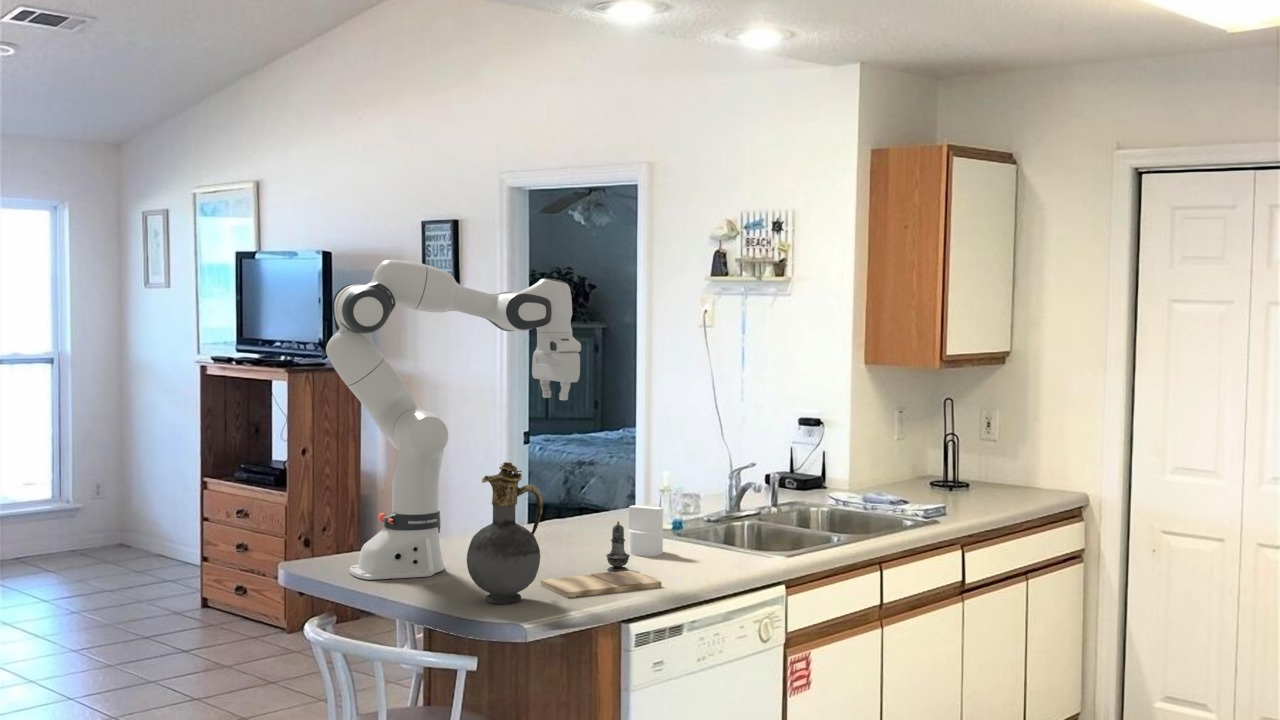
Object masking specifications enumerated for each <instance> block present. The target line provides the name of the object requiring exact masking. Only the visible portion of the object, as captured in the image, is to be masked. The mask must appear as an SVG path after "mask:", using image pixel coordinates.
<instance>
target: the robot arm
mask: <svg viewBox="0 0 1280 720" xmlns="http://www.w3.org/2000/svg"><path fill="white" fill-rule="evenodd" d="M396 306H397V307H402V308H403V307H404V308H408V309H411V310H416V311H421V312H428V313H446V312H459V313H463V314H467V315H471V316H474V317H479V318H482V319H485V320H486V321H489V323H491V324H492V325H493V326H495V327H496V328H498V329H500V330H502V331H504V332H515V331H517V332H526V331H529V330H533V329H536V336H537V337H536V347H535V350H534V351H533V354H532V365H531V366H532V367H531V375H532V378H533V379H535V380H539V385H540V387H541V388H540V389H541V391H542V397H543V398H545V399H549V398H551V397H552V390H551V388H550V383H551V382H552V381H553V382H558V383H559V382H560V383H559V385H560V392H559V393H558V399H559V400H560V401H568V400H569V391H570V389H571V383H578V381H579V379H580V376H581V375H580V374H581V357H580V353H579V352H581V351H582V344H581V342H580V341H579V340H578V339H576V338H575V337H574V336H573V328H572V324H571V321H572V316H573V300H572V293H571V287H570V285H569V284H568V283H567V282H566V281H563V280H561V279H560V280H559V279H555V278H549V277H548V278H540V279H539V280H538V281H537V282H536V283H534V284H533V285H531V286H529V287H527V288H525V289H522V290H520V291H518V292H514V291H503V292H499V293H489V292H485V291H480V290H476V289H472V288H469V287H465V286H463V285H462V284H460V283H458V282H457V281H456V279H455V278H454V276H453V275H452V273H449V272H447V271H445V270H443V269H441V268H438V267H435V266H432V265H428V264H425V263H421V262H417V261H410V260H400V259H386V260H383V261H382V262H380V264H378V265H377V267H376V268H375V270H374V273H373V276H372V279H371V281H369V283H367V284H359V283H351V284H347V285H345V286H342V287H341V288H340V289H339V290H338V291H337V292H336V294H335V295H334V297H333V300H332V314H333V319H334V327H335V329H336V331H337V332H335V333H334V335H332V336H331V338H330V339H329V340H328V342H327V344H326V347H325V353H326V355H327V358H328V359H329V361H330V364H331V365H332V367H333V369H334V370H335V372H336V373H337V375H338V376H339V378H340V379H341V380H342V381H343V383H344V384H345V385H346V386H347V387H348V389H349V390H350V392H351V393H352V394H353V395H354V396H355V398H357V399H358V401H359V402H360V403H361V404H362V406H363V407H364V408H365V409H366V411H367V412H368V413H369V415H370V417H371V418H372V419H373V421H374V423H375V424H376V426H377V427H378V429H379V430H380V432H381V434H382V435H383V436H384V437H385V438H386V440H387V441H388V442H389V444H390V445H391V446H392V447H393V448H394V449H396V450H398V452H397V453H398V454H397V462H396V467H395V471H394V475H393V477H392V480H391V511H390V512H389V513H387V514H386V513H384V512H380V513H379V514H378V515H377V520H378V521H380V522H381V523H383V528H382V529H381V530H380V531H379V532H377V533H376V534H375V535H374V536H373V537H372V538H370V539H369V540H368V541H367V542H365V543H363V545H362V547H361V548H360V553H359V559H358V564H353V565H351V566H350V567H349V574H350V575H352V576H353V577H356V578H358V579H362V580H367V581H368V580H369V581H370V580H371V581H372V580H387V579H388V580H389V579H390V578H391V579H405V578H406V579H408V578H423V577H426V578H427V577H432V576H433V575H435V574H436V573H439V572H442V571H444V570H445V569H446V567H445V564H444V560H443V555H442V550H441V542H440V541H441V540H440V534H441V524H442V523H441V511H440V510H439V481H440V472H441V466H442V462H443V456H444V449H445V448H446V446H447V444H448V441H449V431H448V427H447V425H446V423H444V420H443V419H441V418H440V416H439V415H438V414H436V413H433V412H432V411H427V410H424V409H422V408H421V407H420V406H419V404H418V403H417V401H416V400H415V399H414V397H413V396H412V394H411V392H410V391H409V389H408V387H407V384H406V382H405V381H404V379H403V378H402V377H401V375H400V374H399V373H398V372H397V371H396V369H395V368H394V367H393V366H392V365H391V363H390V362H389V361H388V359H387V358H386V356H384V355H383V353H382V352H381V351H380V350H379V349H378V347H377V346H376V344H375V343H374V339H373V337H372V333H375V332H376V331H378V330H380V329H381V328H383V326H384V325H385V324H386V322H387V320H389V319H388V318H389V317H390V315H391V313H392V312H393V310H394V309H395V307H396ZM391 579H390V580H391Z"/></svg>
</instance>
